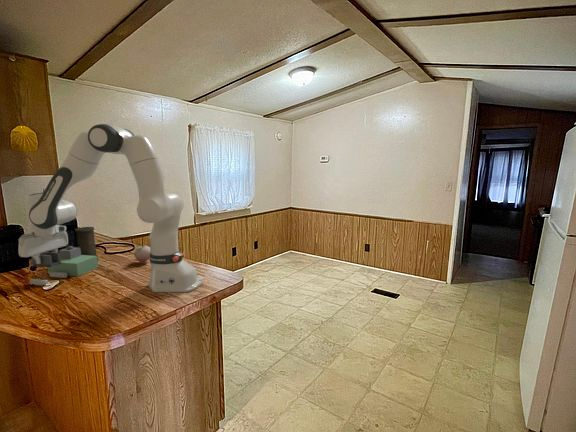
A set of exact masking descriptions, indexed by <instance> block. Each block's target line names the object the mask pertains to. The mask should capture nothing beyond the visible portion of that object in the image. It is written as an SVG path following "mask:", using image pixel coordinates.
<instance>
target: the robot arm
mask: <svg viewBox="0 0 576 432" xmlns="http://www.w3.org/2000/svg"><path fill="white" fill-rule="evenodd" d="M106 153H107V154H113V155H124V156H125V158H126V159H127V161H128V164H129V167H130V169H131V172H132V174H133V177H134V179H135V182H136V185H137V190H138V192H137V193H138V204H137V207H136V213H137V216H138V218H139V219H140V220H141V221H143V222H144V223H147V224H153V226H152V229H151V231H150V233H149V247H150V251H151V253H150V258H149V263H150V275H149V276H150V277H149V281H148V287H149V289H150V290H151V292H153V293H189V292H193V291H194V290H196V289H197V288H199V287H200V286H201V285H203V282H204V280H203V277H199V276H198V272H197V270H196V268H195V267H194V266H193V265H191V264H190V263H188V262H187V261H186V260H184V258H183V256H184V255H185V252H182V253H181V251H180V250H179V238H178V235H179V234H178V233H179V232H178V231H179V226H180V225H179V224H180V219H181V215H182V211H183V209H184V201H183V199H182V197H181V196H180V195H178V194H176V193H174V192H166V190H165V180H166V179H165V178H166V175H165V173H164V171H163V169H162V165H161V163H160V160H159V157H158V155H157V152H156V151H155V149H154V147H153V145H152V144H151V142H150V140H149V139H148V137H146V136H143V135H141V134H140V135H139V134H138V135H137V134H136V135H135V133H134V132H132V131H130V129H127V128H124V127H120V126H118V125H111V124H106V123H98V124H95V125H93V126H92V127H91V128H89V129H88V130H84V131H81V132H80V133H79V134H78V135H77V137H76V138H75V140H74V141H73V143H72V144H71V147H70V149H69V151H68V153H67V156H66V158H65V159H64V161H63V163H62V164H61V165H60V167H58V168H57V170H56V171H55V172H54V174H53V175H52V177H51V179H50V180H49V182H48V183H47V185H46V187H45V189H44V190H43V191H42V192H37V193H31V194H30V195H28V196H27V198H26V213H27V217H28V219H29V221H28V229H29V233H24V234H21V236H20V237H19V238H18V250H17V251H18V255H19V257H20V258H29V257H31V256H32V257H33V258H34V259H35V260H36V264H41V263H43V259H40V258H39V257H38V256H40V253H44V252H56V253H59V248H60V249H61V248H64V247H68V244H69V236H68V233H67V226H66V225H63V224H65V223H70V222H72V221H74V220H75V219H76V218H77V215H78V209H77V207H76V204H74V202H72V201H70V200H66V199H63V198H64V196H65V194H66V193H67V191H68V190H69V189H70V188H71V187H72V186H74V185H76V184H77V183H78V184H79V183H80V182H81V181H84V180H87V179H89V178H91V177H92V176H93V175H94V174H95V173H96V171H97V169H98V167H99V165H100V162H101V160H102V158H103V156H104V155H105V154H106ZM32 257H31V258H32Z"/></svg>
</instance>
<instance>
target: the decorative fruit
mask: <svg viewBox="0 0 576 432" xmlns="http://www.w3.org/2000/svg"><path fill="white" fill-rule="evenodd" d="M150 253H151V251H150V246H148V245H147V244H143V243H142V244H141V245H140V246H138V247H137V248H136V249H135V250H134V253H133V257H134V258H135V259H136V261H138V262H139V263H140V262H141V263H145V262H147V261H148V260H150Z"/></svg>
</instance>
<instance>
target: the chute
mask: <svg viewBox="0 0 576 432" xmlns="http://www.w3.org/2000/svg"><path fill="white" fill-rule="evenodd" d="M30 257H31V262H32V267H42V268H43V267H44V268H48V267H53V266H56V265H59V264H61V261H60V253H59V252H57V253H56V252H52V251H47V252H44V253H40V256H38V257H39V258H40V259H43V263H41V264H36V260H35V259H34V258H33V257H32V256H30Z"/></svg>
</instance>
